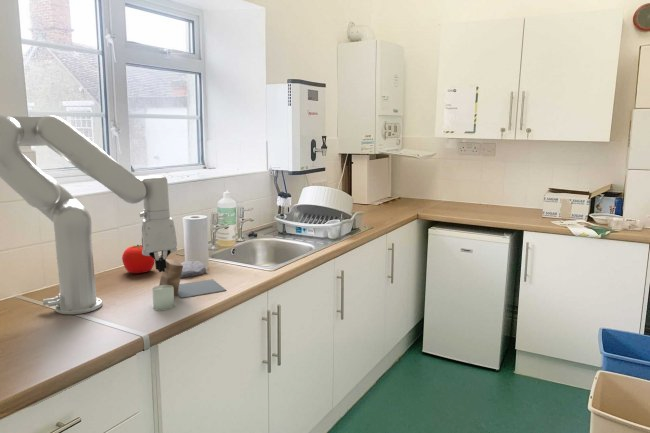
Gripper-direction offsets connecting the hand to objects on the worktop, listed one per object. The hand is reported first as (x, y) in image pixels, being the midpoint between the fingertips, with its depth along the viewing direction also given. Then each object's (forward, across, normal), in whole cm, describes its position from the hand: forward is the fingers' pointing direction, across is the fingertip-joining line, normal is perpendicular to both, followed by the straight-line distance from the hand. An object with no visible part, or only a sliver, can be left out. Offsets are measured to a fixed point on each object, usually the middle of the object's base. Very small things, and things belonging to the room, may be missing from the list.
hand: (161, 270), depth 160 cm
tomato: (+8, -1, +30) cm, 31 cm away
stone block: (+9, +14, +19) cm, 25 cm away
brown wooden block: (+8, +2, 0) cm, 8 cm away
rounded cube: (+8, -2, -12) cm, 15 cm away
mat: (+8, +12, 0) cm, 14 cm away
